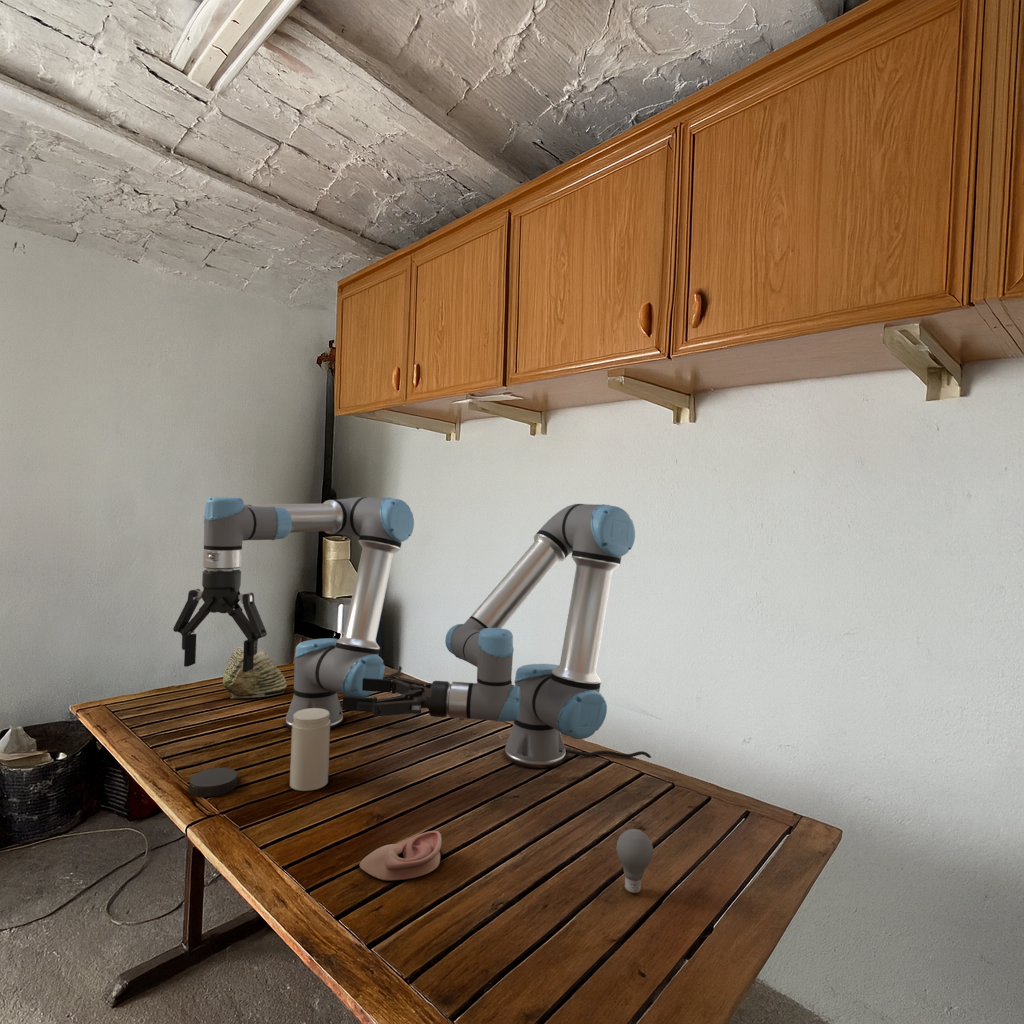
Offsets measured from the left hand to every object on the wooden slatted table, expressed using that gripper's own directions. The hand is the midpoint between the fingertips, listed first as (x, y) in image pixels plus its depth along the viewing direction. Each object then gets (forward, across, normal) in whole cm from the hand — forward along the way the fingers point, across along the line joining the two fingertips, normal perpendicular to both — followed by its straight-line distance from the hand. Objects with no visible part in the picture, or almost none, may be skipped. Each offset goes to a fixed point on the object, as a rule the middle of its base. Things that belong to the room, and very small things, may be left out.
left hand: (218, 667), depth 136 cm
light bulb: (+26, +88, -18) cm, 93 cm away
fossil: (+26, -26, +59) cm, 69 cm away
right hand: (+5, +28, +7) cm, 29 cm away
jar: (+26, +18, +7) cm, 32 cm away
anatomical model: (+26, +48, -19) cm, 58 cm away
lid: (+24, 0, 0) cm, 24 cm away
